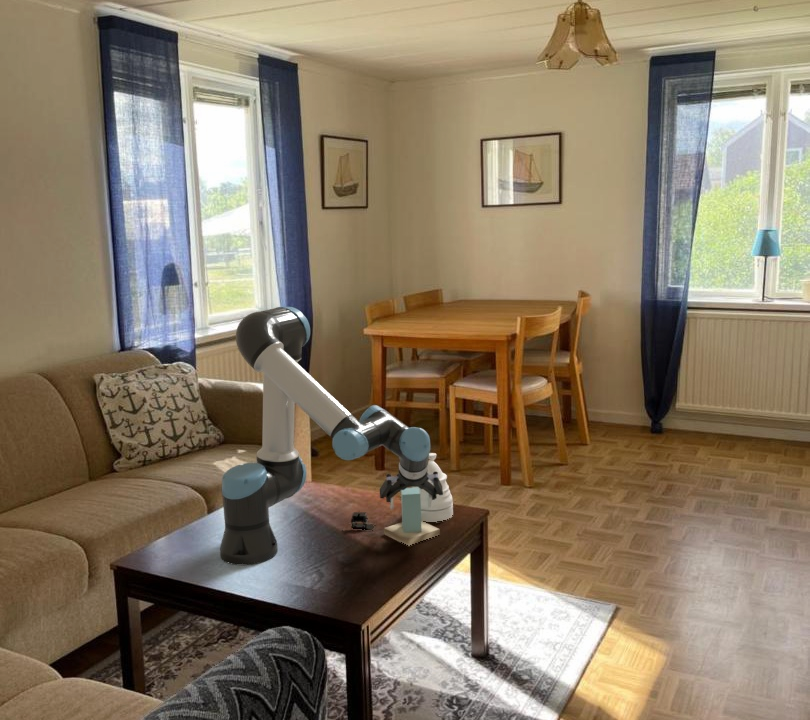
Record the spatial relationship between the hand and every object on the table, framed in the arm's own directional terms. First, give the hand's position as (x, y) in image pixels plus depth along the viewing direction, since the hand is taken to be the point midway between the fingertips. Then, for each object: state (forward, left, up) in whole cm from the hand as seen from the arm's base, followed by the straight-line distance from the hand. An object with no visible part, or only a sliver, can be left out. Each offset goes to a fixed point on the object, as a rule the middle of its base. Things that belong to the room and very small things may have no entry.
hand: (410, 503), depth 236 cm
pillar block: (-2, -3, -6) cm, 7 cm away
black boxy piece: (-9, +12, -9) cm, 17 cm away
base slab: (-2, -3, -9) cm, 9 cm away
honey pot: (+12, +5, -8) cm, 16 cm away
